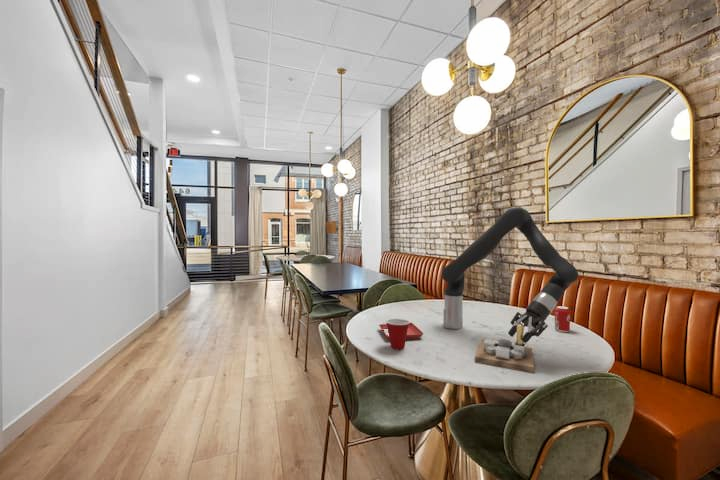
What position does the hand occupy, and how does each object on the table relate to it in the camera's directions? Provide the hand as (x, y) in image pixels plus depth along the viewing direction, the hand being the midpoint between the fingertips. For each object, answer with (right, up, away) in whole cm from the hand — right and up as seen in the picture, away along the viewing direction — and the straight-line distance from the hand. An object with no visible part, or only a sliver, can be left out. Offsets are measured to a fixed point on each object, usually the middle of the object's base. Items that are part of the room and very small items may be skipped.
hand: (516, 338), depth 117 cm
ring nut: (-3, -7, +3) cm, 8 cm away
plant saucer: (-41, -9, +31) cm, 53 cm away
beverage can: (+41, -8, +34) cm, 54 cm away
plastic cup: (-45, -9, +15) cm, 48 cm away
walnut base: (-3, -9, +4) cm, 10 cm away
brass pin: (+2, -7, +1) cm, 7 cm away
